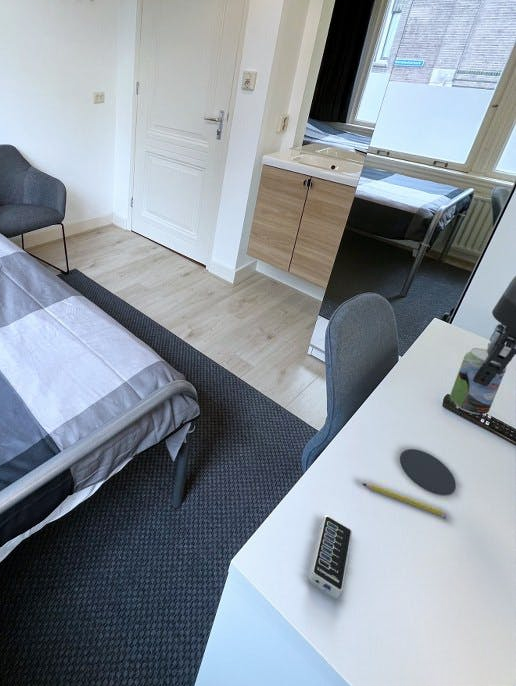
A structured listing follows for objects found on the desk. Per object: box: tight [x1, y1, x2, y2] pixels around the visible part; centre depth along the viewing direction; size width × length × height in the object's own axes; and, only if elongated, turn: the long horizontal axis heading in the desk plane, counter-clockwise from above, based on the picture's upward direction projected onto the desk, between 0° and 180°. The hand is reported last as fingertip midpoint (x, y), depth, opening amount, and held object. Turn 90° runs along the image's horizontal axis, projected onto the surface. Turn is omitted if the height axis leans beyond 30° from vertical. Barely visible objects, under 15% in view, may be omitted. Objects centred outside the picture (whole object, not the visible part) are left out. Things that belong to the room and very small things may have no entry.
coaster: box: [399, 448, 457, 495], centre depth 85 cm, size 10×10×1 cm
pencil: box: [361, 482, 448, 519], centre depth 79 cm, size 1×14×1 cm, turn 67°
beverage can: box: [449, 347, 507, 415], centre depth 79 cm, size 6×7×12 cm
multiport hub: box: [307, 514, 353, 599], centre depth 68 cm, size 4×11×2 cm, turn 147°
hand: (482, 374), depth 79 cm, fingers closed on beverage can, 6 cm apart
